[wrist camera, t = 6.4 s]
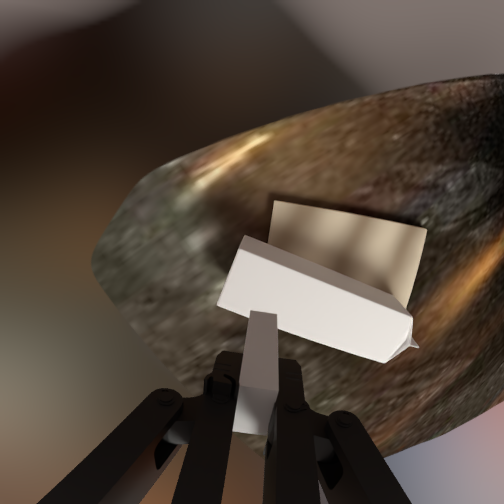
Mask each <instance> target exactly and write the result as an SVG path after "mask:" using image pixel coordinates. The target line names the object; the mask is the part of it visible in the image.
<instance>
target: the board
mask: <svg viewBox="0 0 504 504" xmlns="http://www.w3.org/2000/svg"><path fill="white" fill-rule="evenodd" d="M426 232H427V229H425V228H422V227H418V226H413V225H409V224H404V223H399V222H395V221H390V220H385V219H380V218H375V217H370V216H365V215H360V214H354V213H349V212H344V211H338V210H333V209H327V208H321V207H315V206H309V205H303V204H297V203H291V202H285V201H278V200H274V205H273V212H272V218H271V225H270V232H269V238H268V244H269V245H272V246H274V247H277V248H279V249H282V250H284V251H287V252H289V253H292V254H294V255H297V256H299V257H301V258H304V259H306V260H309V261H311V262H314V263H316V264H319V265H321V266H324V267H326V268H328V269H331V270H333V271H336V272H338V273H341V274H343V275H345V276H348V277H350V278H353V279H355V280H357V281H360V282H362V283H365V284H367V285H369V286H372V287H374V288H377V289H379V290H381V291H384V292H386V293H389V294H391V295H393V296H394V297H395V298H396V299H397V300H398V301H399V302H400V303H401V304H402V306H403V307H404V308H405V309H406V307H407V303H408V300H409V297H410V294H411V291H412V287H413V284H414V280H415V277H416V273H417V269H418V266H419V262H420V258H421V254H422V250H423V246H424V241H425V237H426Z"/></svg>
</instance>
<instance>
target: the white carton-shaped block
mask: <svg viewBox="0 0 504 504" xmlns="http://www.w3.org/2000/svg"><path fill="white" fill-rule="evenodd" d="M217 305H218V306H220V307H222V308H225V309H227V310H230V311H233V312H235V313H238V314H240V315H243V316H246V317H248V318H249V316H250V310H253V311H260V312H267V313H274V314H277V328H278V329H281V330H284V331H286V332H289V333H292V334H295V335H298V336H301V337H303V338H306V339H309V340H312V341H315V342H318V343H321V344H324V345H327V346H330V347H333V348H336V349H339V350H343V351H346V352H349V353H352V354H355V355H358V356H362V357H365V358H368V359H372V360H375V361H378V362H382V363H386V362H387V361H389V360H390V359H392V358H393V357H395V356H396V355H397V354H399V353H400V352H402V351H403V350H405V349H406V348H407V347H409V346H413V347H416V348H419V346H418V345H417V343H416V342H415V341H414V339H413V338H412V337H411V335H412V324H413V317H412V316H411V315H410V313H409V312H408V311H407V310H406V309H405V308H404V307H403V306H402V304H401V303H400V302H399V301H398V300H397V299H396V298H395V297H394V296H393V295H391V294H389V293H386V292H384V291H381V290H379V289H377V288H374V287H372V286H369V285H367V284H365V283H362V282H360V281H357V280H355V279H353V278H350V277H348V276H345V275H343V274H341V273H338V272H336V271H333V270H331V269H328V268H326V267H324V266H321V265H319V264H316V263H314V262H311V261H309V260H306V259H304V258H301V257H299V256H297V255H294V254H292V253H289V252H287V251H284V250H282V249H279V248H277V247H274V246H272V245H269V244H267V243H264V242H262V241H259V240H257V239H254V238H252V237H249V236H247V235H244V237H243V239H242V241H241V244H240V246H239V248H238V251H237V253H236V256H235V258H234V261H233V263H232V266H231V268H230V271H229V273H228V276H227V279H226V281H225V284H224V286H223V289H222V291H221V294H220V297H219V299H218V302H217Z"/></svg>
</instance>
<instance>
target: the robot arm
mask: <svg viewBox="0 0 504 504" xmlns="http://www.w3.org/2000/svg"><path fill="white" fill-rule="evenodd" d="M301 374H302V372H301V366H300V365H299V364H298V362H297V361H296V360H291V359H283V358H278V328H277V314H274V313H267V312H260V311H253V310H250V316H249V322H248V329H247V335H246V341H245V348H244V354H241V353H235V352H229V351H222V352H221V353H220V354H218V355H217V358H216V361H215V364H214V368H213V371H212V373H210V374H208V375H207V376H206V377H205V379H204V392H203V394H202V395H200V396H197V397H191V398H182V396H181V395H180V394H179V393H178V392H176V391H175V390H172V389H168V388H161V389H157V390H155V391H153V392H151V394H149V395H148V397H146V398H145V399H144V400H143V402H141V403H140V404H139V406H137V407H136V408H135V409H134V410H133V412H131V414H129V415H128V416H127V417H126V419H124V420H123V422H121V423H120V424H119V426H117V427H116V428H115V429H114V430H113V431H112V433H110V434H109V435H108V436H107V437H106V438H105V439H104V440H103V441H102V442H101V443H100V444H99V445H98V446H97V447H96V448H95V449H94V450H93V451H92V452H91V453H90V454H89V455H88V456H87V457H86V458H85V459H84V460H83V461H82V462H81V463H79V464H78V465H77V466H76V467H75V468H74V469H73V470H72V471H71V472H70V473H69V474H68V475H67V476H66V477H65V478H64V479H63V480H62V481H61V482H59V483H58V484H57V485H56V486H55V487H54V488H53V489H52V490H51V491H50V492H49V493H48V494H47V495H45V496H44V497H43V498H42V499H41V500H40V501H39V502H38V503H37V504H139V503H140V502H141V500H142V499H143V498H144V497H145V495H146V494H147V492H148V491H149V490H150V489H151V487H152V486H153V485H154V483H155V482H156V481H157V479H158V478H159V476H160V475H161V474H162V473H163V471H164V470H165V468H166V467H167V466H168V464H169V463H170V462H171V460H172V459H173V457H174V456H175V455H176V453H177V452H178V451H179V449H180V448H181V446H182V444H189V445H188V448H187V452H186V455H185V458H184V462H183V465H182V469H181V472H180V475H179V479H178V482H177V485H176V489H175V492H174V496H173V499H172V503H171V504H221V500H222V494H223V488H224V481H225V475H226V469H227V463H228V456H229V450H230V444H231V437H232V431H236V432H243V433H250V434H258V435H267V432H268V438H267V442H266V445H265V449H264V452H263V455H265V468H264V486H263V503H262V504H320V493H319V483H318V480H319V482H320V484H321V487H322V489H323V492H324V494H325V496H326V499H327V501H328V503H329V504H412V503H411V502H410V500H409V498H408V497H407V495H406V494H405V492H404V491H403V489H402V487H401V486H400V484H399V482H398V481H397V479H396V478H395V476H394V475H393V473H392V472H391V470H390V468H389V466H388V465H387V463H386V462H385V460H384V458H383V457H382V455H381V454H380V452H379V450H378V449H377V447H376V446H375V444H374V442H373V441H372V439H371V438H370V436H369V434H368V433H367V431H366V430H365V428H364V426H363V425H362V423H361V422H360V420H359V419H358V418H357V416H356V415H354V414H352V413H351V412H348V411H335V412H333V413H331V414H330V415H329V416H326V415H322V414H319V413H317V412H314V411H313V410H311V409H310V407H309V404H308V403H307V402H306V401H305V397H304V389H303V381H302V375H301Z"/></svg>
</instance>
